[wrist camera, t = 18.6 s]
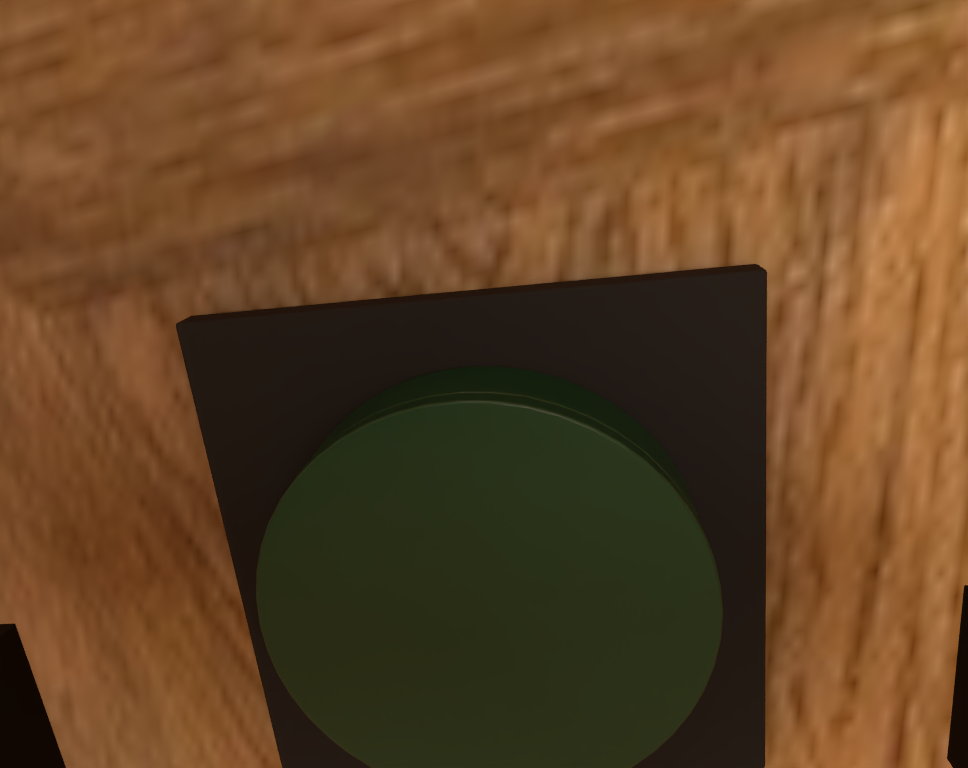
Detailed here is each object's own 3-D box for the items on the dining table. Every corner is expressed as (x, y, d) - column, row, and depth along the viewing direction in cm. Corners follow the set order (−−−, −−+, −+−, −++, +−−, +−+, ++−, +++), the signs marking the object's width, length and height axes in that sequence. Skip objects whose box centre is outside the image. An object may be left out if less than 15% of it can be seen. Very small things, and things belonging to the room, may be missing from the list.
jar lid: (704, 730, 15) (723, 807, 13) (326, 732, 16) (298, 805, 14) (701, 350, 12) (724, 384, 11) (257, 379, 13) (212, 415, 12)
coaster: (189, 315, 14) (173, 323, 13) (758, 263, 12) (767, 268, 12) (292, 754, 17) (283, 776, 16) (758, 746, 16) (765, 769, 15)
